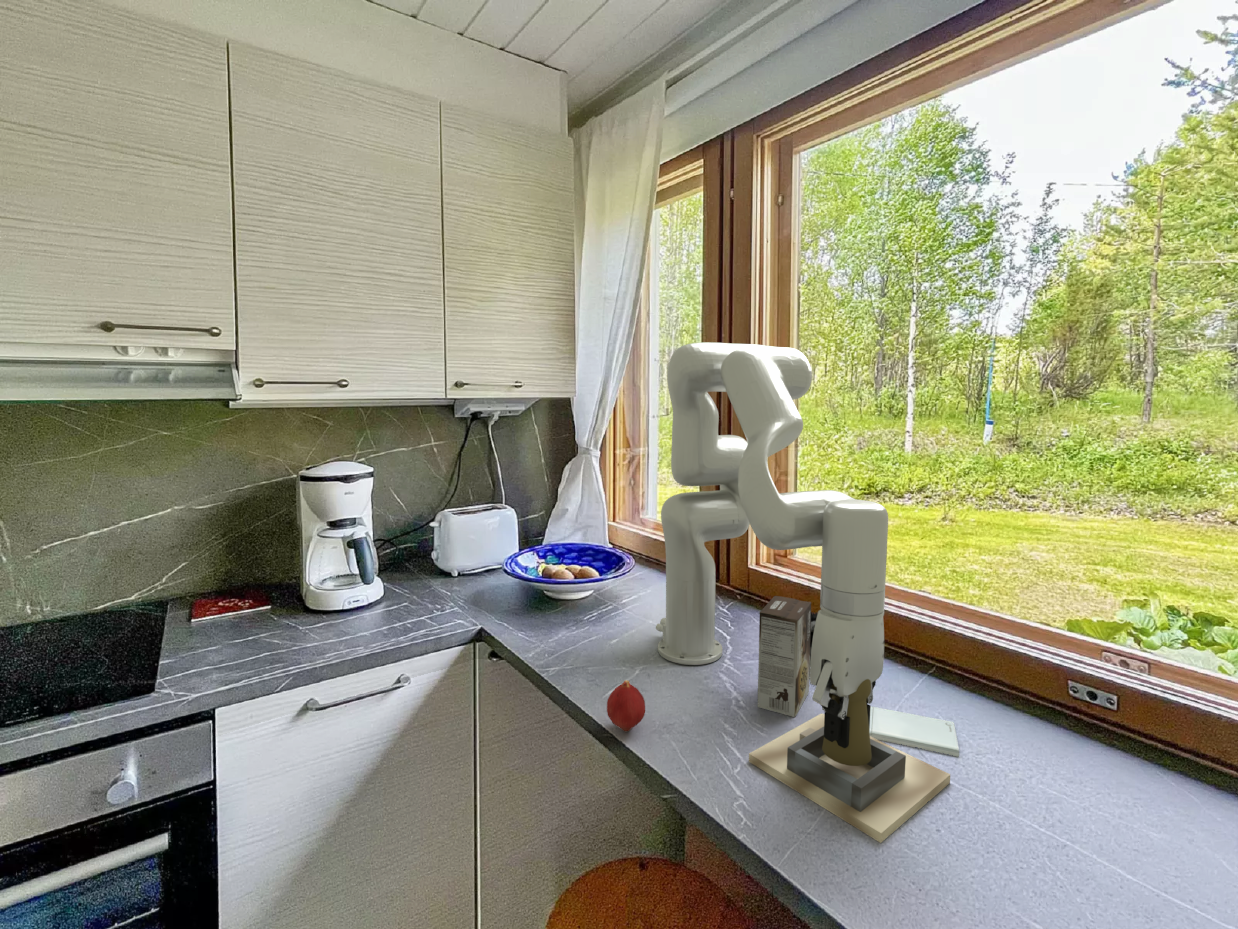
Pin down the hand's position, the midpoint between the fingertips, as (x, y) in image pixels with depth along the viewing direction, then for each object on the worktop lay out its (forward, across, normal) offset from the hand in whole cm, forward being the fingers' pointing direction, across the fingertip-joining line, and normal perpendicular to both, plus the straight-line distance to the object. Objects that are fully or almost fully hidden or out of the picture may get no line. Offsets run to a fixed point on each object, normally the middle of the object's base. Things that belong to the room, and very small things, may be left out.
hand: (846, 734), depth 77 cm
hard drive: (+7, -18, -1) cm, 20 cm away
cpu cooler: (+7, -27, -20) cm, 34 cm away
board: (+6, -2, -1) cm, 7 cm away
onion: (+7, +15, -27) cm, 32 cm away
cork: (+2, 0, 0) cm, 2 cm away
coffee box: (+7, -11, -18) cm, 22 cm away
